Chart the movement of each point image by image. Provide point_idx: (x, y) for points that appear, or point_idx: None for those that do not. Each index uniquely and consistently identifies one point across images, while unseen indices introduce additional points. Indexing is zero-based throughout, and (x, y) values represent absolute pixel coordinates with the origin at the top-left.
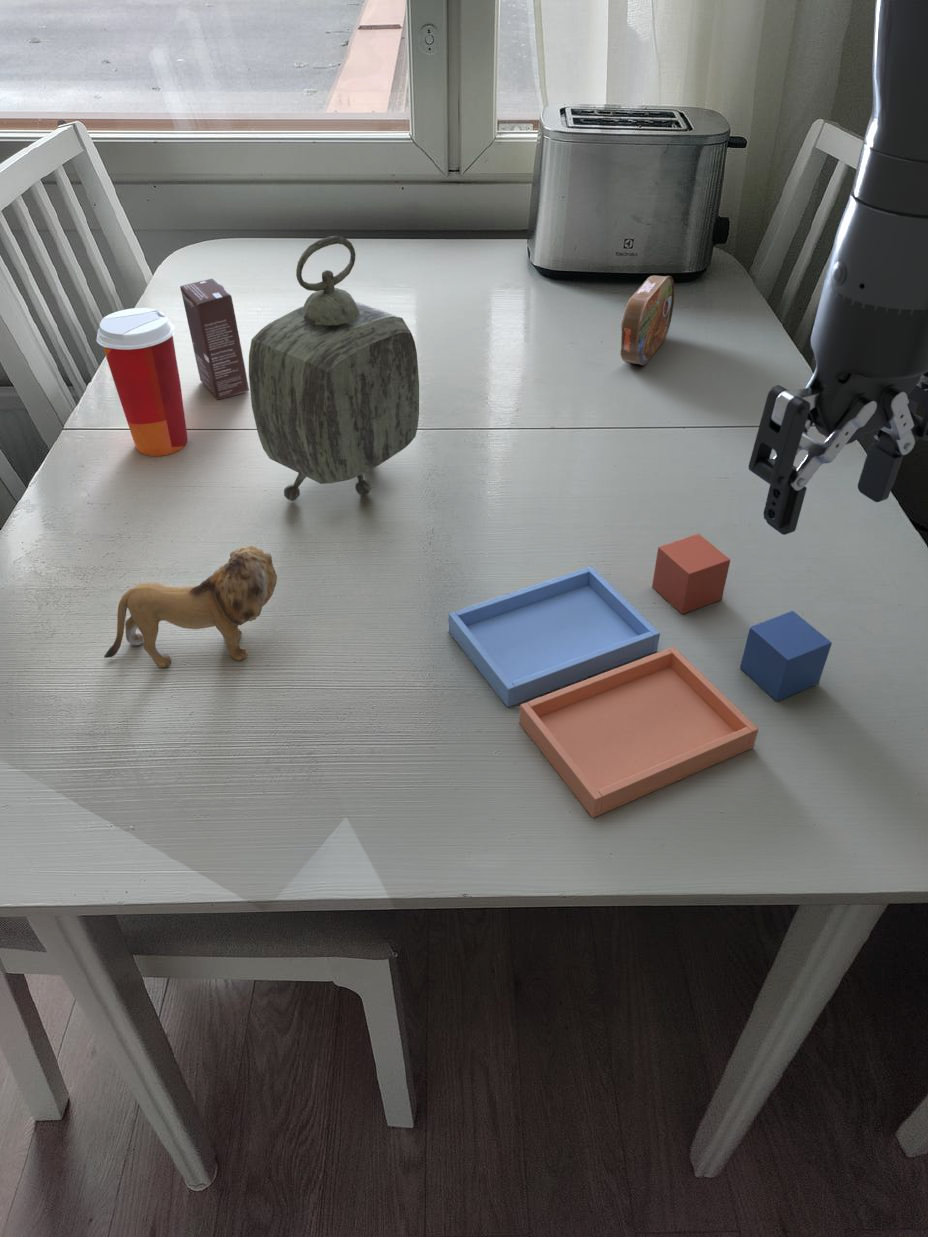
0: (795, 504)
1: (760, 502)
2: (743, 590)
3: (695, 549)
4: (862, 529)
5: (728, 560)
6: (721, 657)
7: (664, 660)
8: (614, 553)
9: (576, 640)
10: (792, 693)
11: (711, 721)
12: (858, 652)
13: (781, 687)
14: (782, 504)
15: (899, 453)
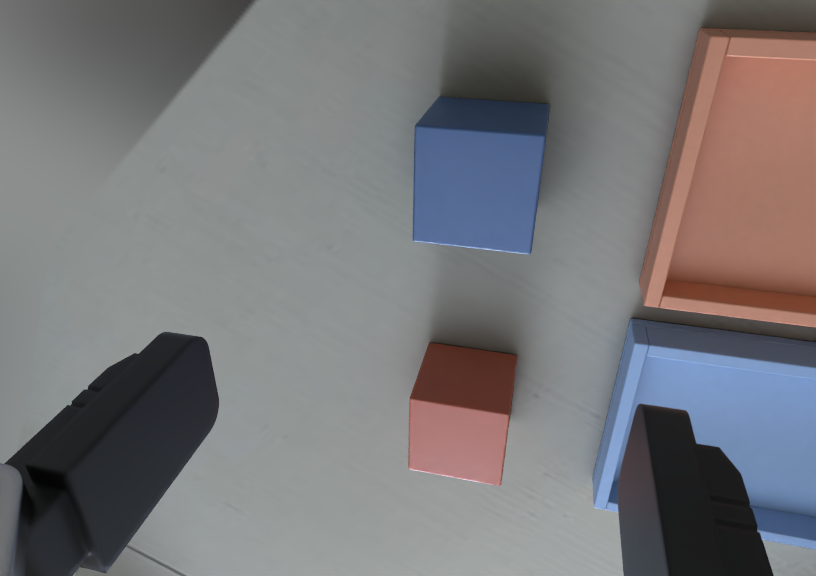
0: (717, 531)
1: (215, 448)
2: (379, 337)
3: (446, 447)
4: (107, 327)
5: (414, 399)
6: (542, 246)
7: (678, 291)
8: (500, 497)
9: (742, 409)
10: (508, 102)
11: (722, 127)
12: (309, 119)
13: (546, 112)
14: (765, 562)
15: (23, 478)
